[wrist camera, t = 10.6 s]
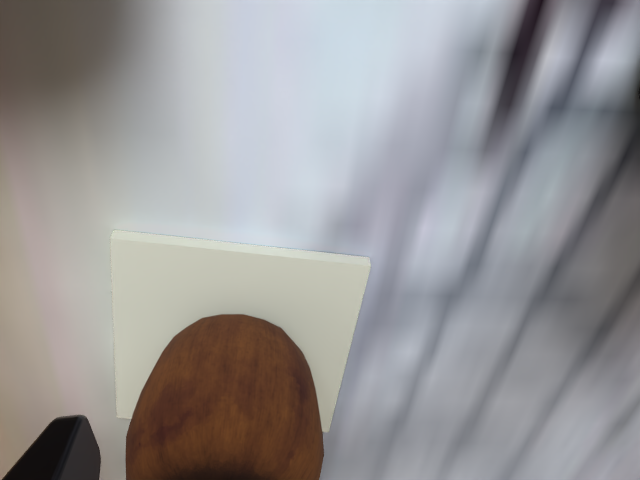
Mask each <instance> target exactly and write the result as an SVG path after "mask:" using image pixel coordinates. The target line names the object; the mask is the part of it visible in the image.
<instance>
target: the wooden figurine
mask: <svg viewBox="0 0 640 480" xmlns="http://www.w3.org/2000/svg"><path fill="white" fill-rule="evenodd" d="M323 457H324V449H323V434H322V426H321V419H320V412H319V406H318V400H317V394H316V389H315V385H314V381H313V377H312V373H311V370H310V367H309V364H308V362H307V360H306V358H305V356H304V354H303V352H302V351H301V350H300V348H299V347H298V346H297V345H296V344H295V343H294V341H293V340H292V339H291V338H290V337H289V336H288V335H287V334H286V333H285V331H284V330H283V329H282V328H281V327H279V326H276V325H274V324H272V323H270V322H268V321H266V320H264V319H260V318H256V317H252V316H248V315H244V314H220V315H215V316H210V317H204V318H201V319H199V320H198V321H196V322H194V323H193V324H191V325H189V326H187V327H186V328H185V329H183V330H182V331H181V332H179V333H178V334H177V335H175V336H174V337H173V338H172V340H171V341H170V342H169V344H168V345H167V346H166V348H165V349H164V350H163V352H162V354H161V355H160V357H159V359H158V361H157V363H156V364H155V366H154V368H153V370H152V372H151V374H150V376H149V377H148V379H147V381H146V383H145V385H144V387H143V389H142V391H141V393H140V396H139V399H138V401H137V404H136V407H135V409H134V412H133V415H132V419H131V422H130V425H129V429H128V432H127V436H126V480H319V478H320V473H321V468H322V462H323Z"/></svg>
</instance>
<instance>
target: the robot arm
mask: <svg viewBox="0 0 640 480" xmlns="http://www.w3.org/2000/svg"><path fill="white" fill-rule="evenodd" d="M639 98H640V89H639ZM100 464H101V457H100V450H99V447H98V444H97V442H96V439H95V436H94V434H93V431H92V429H91V426H90V424H89V421H88V419H87V418H86V417H85V416H84V415H72V416H63V417H58V418H56V419H54V420H53V421H52V422H51V423H50V424H49V425H48V426H47V427H46V428H45V430H44V431H43V432H42V433H41V434H40V435H39V437H38V438H37V439H36V440H35V441H34V443H33V444H32V445H31V446H30V447H29V448H28V450H27V451H26V452H25V453H24V454H23V455H22V457H21V458H20V459H19V460H18V461H17V462H16V464H15V465H14V466H13V467H12V468H11V469H10V471H9V472H8V473H7V474H6V475H5V476H4V478H3V479H2V480H99V475H100Z"/></svg>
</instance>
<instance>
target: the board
mask: <svg viewBox="0 0 640 480" xmlns="http://www.w3.org/2000/svg"><path fill="white" fill-rule="evenodd" d="M110 257H111V282H112V308H113V334H114V360H115V385H116V411H117V418H126V419H132V415H133V412H134V409H135V407H136V404H137V401H138V399H139V396H140V393H141V391H142V389H143V387H144V385H145V383H146V381H147V379H148V377H149V376H150V374H151V372H152V370H153V368H154V366H155V364H156V363H157V361H158V359H159V357H160V355H161V354H162V352H163V350H164V349H165V348H166V346H167V345H168V344H169V342H170V341H171V340H172V338H173V337H174V336H175V335H177V334H178V333H179V332H181V331H182V330H183V329H185V328H186V327H187V326H189V325H191V324H193V323H194V322H196V321H198V320H199V319H201V318H204V317H210V316H215V315H220V314H244V315H248V316H252V317H256V318H260V319H264V320H266V321H268V322H270V323H272V324H274V325H276V326H279V327H281V328H282V329H283V330H284V331H285V333H286V334H287V335H288V336H289V337H290V338H291V339H292V340H293V341H294V343H295V344H296V345H297V346H298V347H299V348H300V350H301V351H302V352H303V354H304V356H305V358H306V360H307V362H308V364H309V367H310V370H311V373H312V377H313V381H314V385H315V389H316V394H317V400H318V406H319V412H320V419H321V426H322V432H329V429H330V425H331V421H332V417H333V413H334V409H335V405H336V401H337V397H338V393H339V389H340V386H341V382H342V378H343V374H344V370H345V366H346V362H347V358H348V354H349V350H350V346H351V342H352V338H353V335H354V331H355V327H356V323H357V319H358V315H359V311H360V307H361V303H362V299H363V295H364V291H365V287H366V283H367V280H368V276H369V272H370V268H371V264H370V259H369V257H362V256H352V255H343V254H334V253H325V252H315V251H306V250H297V249H287V248H278V247H269V246H260V245H250V244H241V243H232V242H222V241H213V240H204V239H195V238H185V237H176V236H167V235H158V234H148V233H139V232H130V231H120V230H113V233H112V235H111V237H110Z"/></svg>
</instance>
